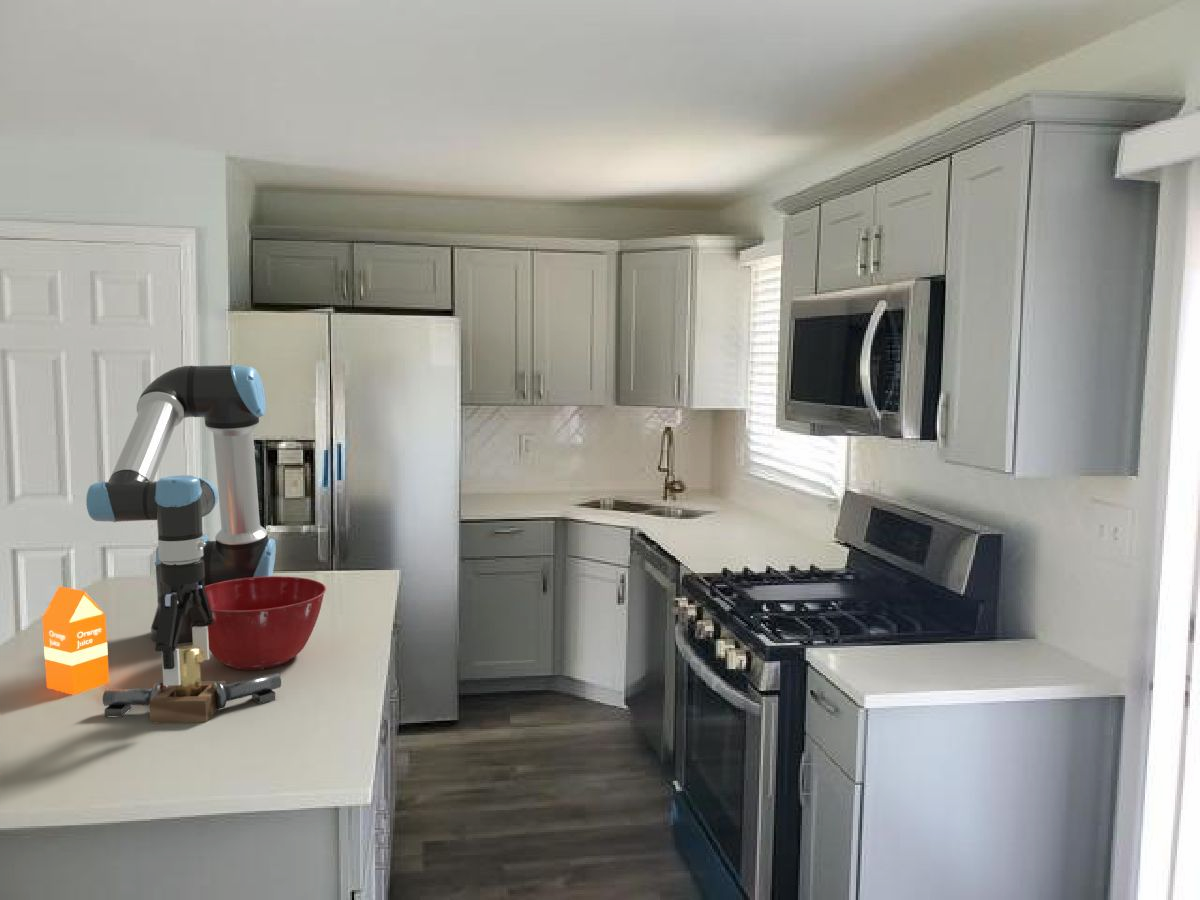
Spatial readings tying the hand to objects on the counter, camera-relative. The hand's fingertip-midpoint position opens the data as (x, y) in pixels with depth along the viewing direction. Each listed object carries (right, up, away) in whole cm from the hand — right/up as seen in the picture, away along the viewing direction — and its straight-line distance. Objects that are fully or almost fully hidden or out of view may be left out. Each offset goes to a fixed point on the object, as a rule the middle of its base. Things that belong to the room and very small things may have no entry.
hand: (187, 671), depth 170 cm
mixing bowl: (+3, -5, +30) cm, 30 cm away
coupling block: (0, -8, +1) cm, 8 cm away
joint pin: (0, -8, +1) cm, 8 cm away
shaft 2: (+9, -7, +5) cm, 13 cm away
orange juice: (-29, -6, +14) cm, 33 cm away
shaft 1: (-10, -8, 0) cm, 13 cm away
